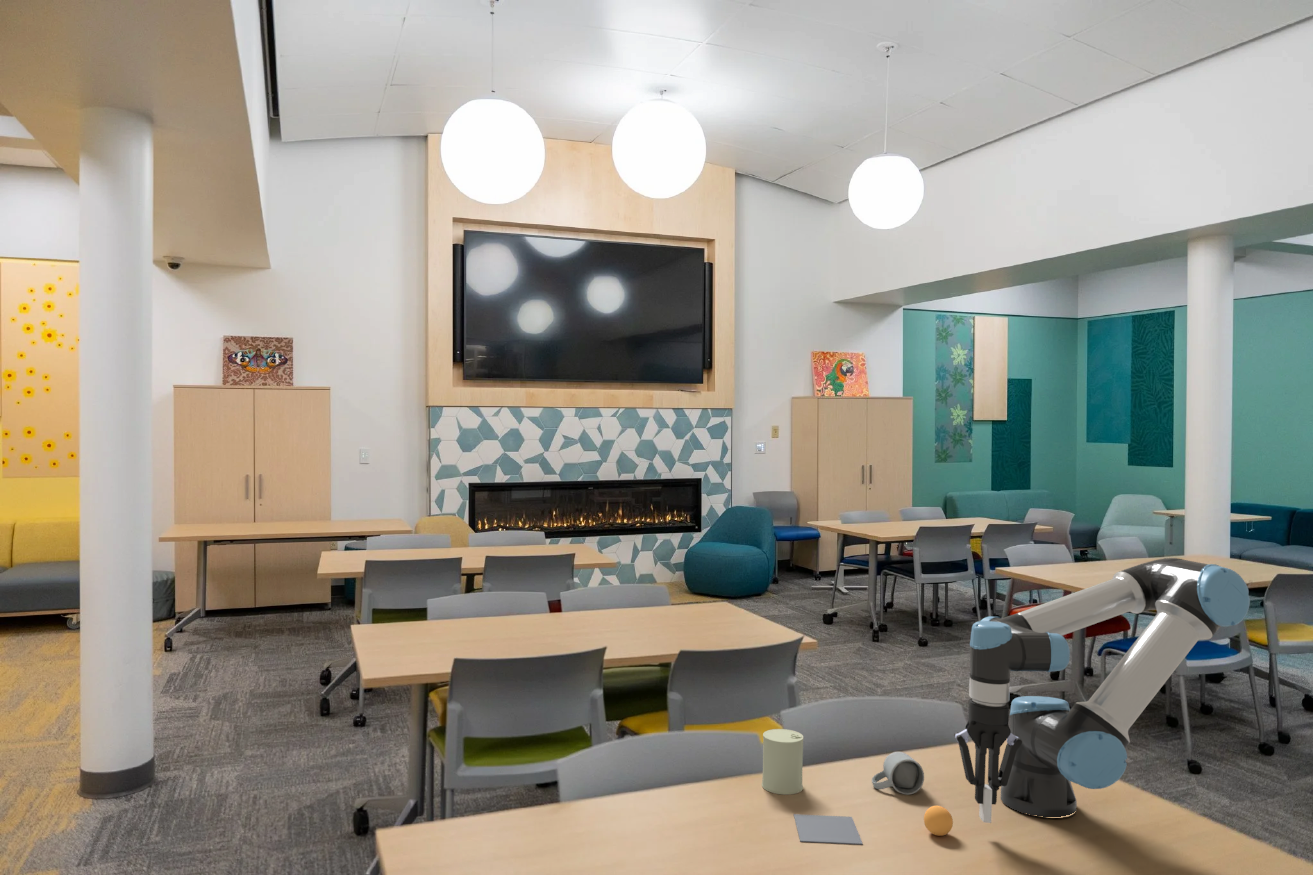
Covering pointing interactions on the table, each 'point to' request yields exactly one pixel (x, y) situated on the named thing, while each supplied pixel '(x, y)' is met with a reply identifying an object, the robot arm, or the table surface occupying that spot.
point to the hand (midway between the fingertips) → (985, 819)
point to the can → (782, 761)
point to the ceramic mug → (900, 774)
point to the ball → (938, 820)
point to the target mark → (827, 829)
